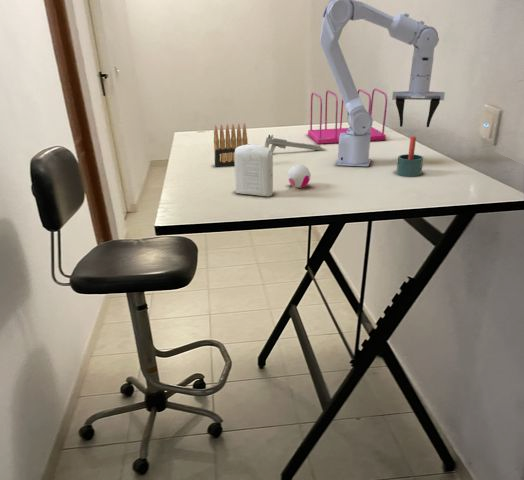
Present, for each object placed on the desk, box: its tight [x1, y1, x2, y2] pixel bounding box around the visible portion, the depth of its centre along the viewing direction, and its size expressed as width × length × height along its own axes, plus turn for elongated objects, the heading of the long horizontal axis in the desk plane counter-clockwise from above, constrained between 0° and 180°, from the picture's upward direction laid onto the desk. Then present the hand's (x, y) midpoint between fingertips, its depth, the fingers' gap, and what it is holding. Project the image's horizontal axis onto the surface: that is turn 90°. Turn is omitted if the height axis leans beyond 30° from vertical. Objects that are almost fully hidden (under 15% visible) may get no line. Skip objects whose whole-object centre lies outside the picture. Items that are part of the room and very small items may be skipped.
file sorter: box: [307, 87, 388, 145], centre depth 191 cm, size 17×25×16 cm
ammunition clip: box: [213, 123, 249, 168], centre depth 162 cm, size 11×2×12 cm, turn 101°
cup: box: [396, 153, 424, 177], centre depth 151 cm, size 7×7×4 cm
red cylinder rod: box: [407, 135, 417, 160], centre depth 150 cm, size 2×2×10 cm
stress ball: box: [287, 164, 311, 189], centre depth 142 cm, size 8×8×7 cm
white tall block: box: [234, 143, 274, 197], centre depth 136 cm, size 10×4×12 cm, turn 69°
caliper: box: [264, 134, 325, 154], centre depth 176 cm, size 20×1×6 cm, turn 102°
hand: (414, 126), depth 157 cm, fingers open, 7 cm apart
